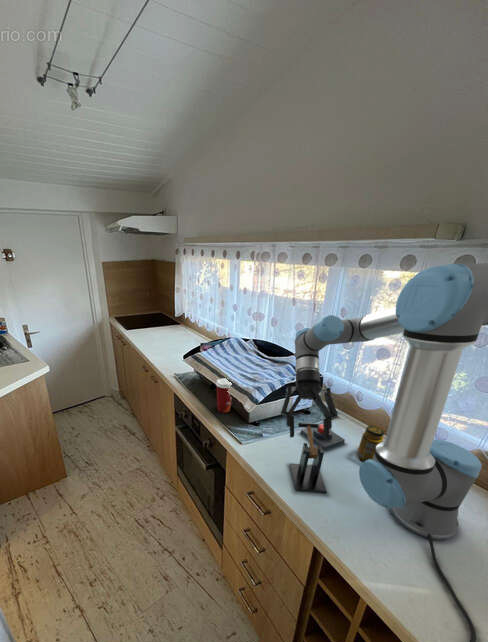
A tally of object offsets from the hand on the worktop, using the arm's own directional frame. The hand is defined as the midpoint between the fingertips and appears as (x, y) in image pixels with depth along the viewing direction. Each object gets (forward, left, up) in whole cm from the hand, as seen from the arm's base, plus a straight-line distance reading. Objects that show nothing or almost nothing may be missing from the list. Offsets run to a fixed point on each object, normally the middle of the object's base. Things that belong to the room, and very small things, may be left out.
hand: (309, 437), depth 97 cm
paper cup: (+40, +21, -12) cm, 47 cm away
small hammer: (-1, 0, -1) cm, 1 cm away
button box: (+15, -13, -12) cm, 24 cm away
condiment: (+3, -23, -13) cm, 26 cm away
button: (+15, -13, -9) cm, 22 cm away
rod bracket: (-6, +1, -12) cm, 14 cm away
